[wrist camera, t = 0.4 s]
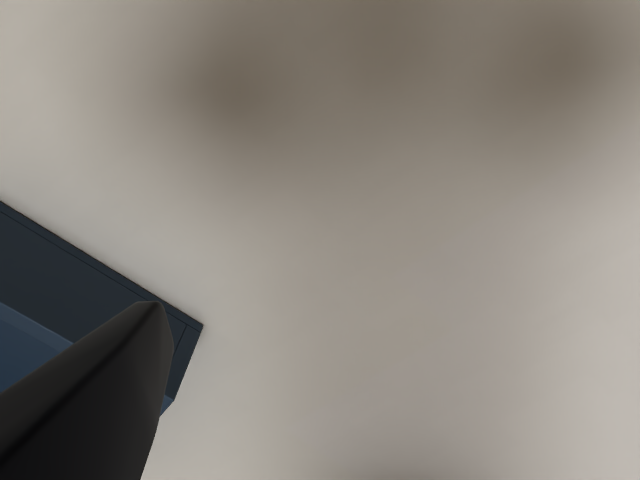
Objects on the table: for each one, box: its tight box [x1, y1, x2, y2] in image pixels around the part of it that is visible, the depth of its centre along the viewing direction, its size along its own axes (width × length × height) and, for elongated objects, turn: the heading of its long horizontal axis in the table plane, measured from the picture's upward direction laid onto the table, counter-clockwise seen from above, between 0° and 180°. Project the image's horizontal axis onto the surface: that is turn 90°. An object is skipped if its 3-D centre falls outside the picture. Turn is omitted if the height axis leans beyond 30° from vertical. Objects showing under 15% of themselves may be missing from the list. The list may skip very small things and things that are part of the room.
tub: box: [0, 202, 203, 416], centre depth 27 cm, size 13×13×5 cm
